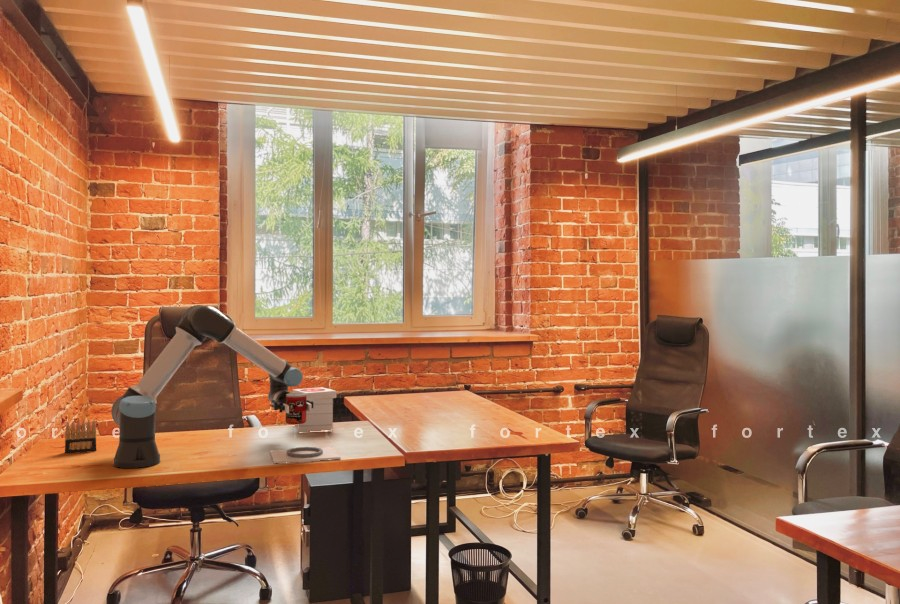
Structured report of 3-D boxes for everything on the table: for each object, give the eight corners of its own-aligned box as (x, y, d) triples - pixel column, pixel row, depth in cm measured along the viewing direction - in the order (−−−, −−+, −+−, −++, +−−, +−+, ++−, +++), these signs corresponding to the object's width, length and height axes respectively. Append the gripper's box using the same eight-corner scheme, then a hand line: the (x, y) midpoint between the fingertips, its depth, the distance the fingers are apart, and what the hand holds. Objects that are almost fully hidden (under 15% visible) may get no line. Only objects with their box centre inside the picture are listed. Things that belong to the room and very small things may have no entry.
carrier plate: (274, 464, 246) (274, 458, 246) (270, 453, 263) (270, 447, 263) (340, 459, 254) (340, 453, 254) (332, 449, 271) (332, 443, 271)
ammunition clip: (96, 450, 265) (96, 419, 265) (96, 451, 264) (96, 420, 264) (64, 452, 261) (65, 421, 260) (64, 453, 259) (64, 422, 259)
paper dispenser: (331, 421, 334) (331, 384, 334) (337, 432, 305) (337, 392, 305) (291, 422, 329) (291, 385, 329) (293, 434, 300) (293, 393, 300)
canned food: (281, 423, 261) (282, 395, 261) (291, 420, 269) (291, 392, 269) (300, 425, 259) (301, 396, 259) (309, 421, 267) (309, 393, 267)
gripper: (309, 408, 285) (325, 417, 264) (258, 411, 275) (271, 420, 255) (309, 390, 285) (326, 397, 264) (259, 392, 275) (271, 400, 255)
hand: (299, 408), depth 260 cm, fingers closed on canned food, 8 cm apart
